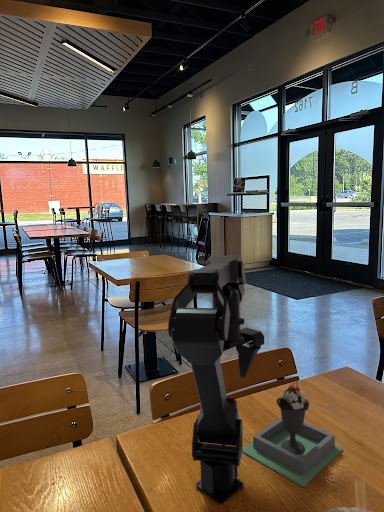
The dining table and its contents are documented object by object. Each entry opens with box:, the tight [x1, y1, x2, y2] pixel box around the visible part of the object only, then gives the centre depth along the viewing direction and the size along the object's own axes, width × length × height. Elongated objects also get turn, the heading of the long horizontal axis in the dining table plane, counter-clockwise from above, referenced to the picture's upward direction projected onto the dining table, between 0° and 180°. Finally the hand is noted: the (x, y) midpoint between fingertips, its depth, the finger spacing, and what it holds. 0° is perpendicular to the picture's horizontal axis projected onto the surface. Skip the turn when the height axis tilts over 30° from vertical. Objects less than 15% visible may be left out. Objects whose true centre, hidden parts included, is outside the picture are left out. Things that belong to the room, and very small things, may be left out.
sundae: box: [275, 375, 310, 455], centre depth 79 cm, size 7×7×15 cm
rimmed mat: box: [242, 416, 344, 488], centre depth 79 cm, size 15×15×3 cm
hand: (228, 384), depth 82 cm, fingers open, 9 cm apart
